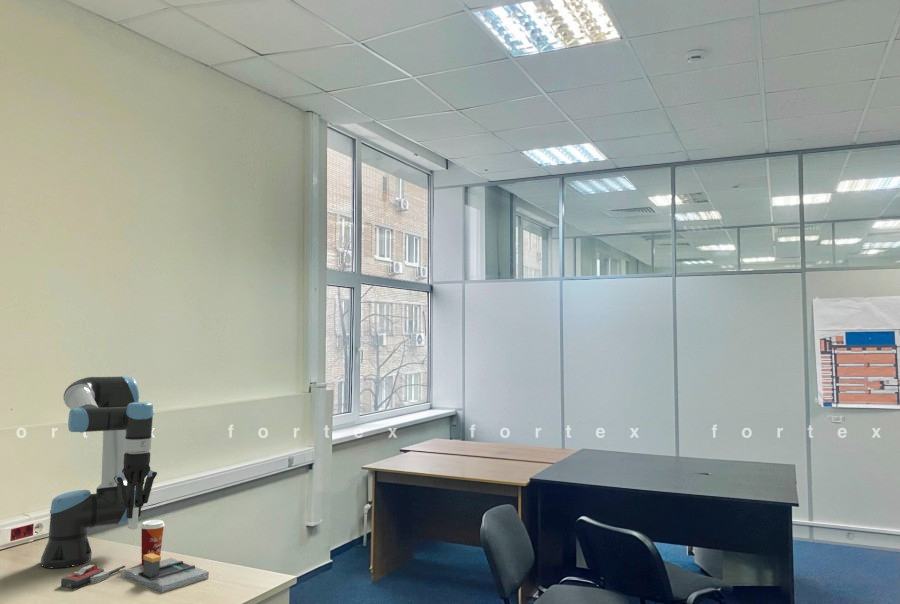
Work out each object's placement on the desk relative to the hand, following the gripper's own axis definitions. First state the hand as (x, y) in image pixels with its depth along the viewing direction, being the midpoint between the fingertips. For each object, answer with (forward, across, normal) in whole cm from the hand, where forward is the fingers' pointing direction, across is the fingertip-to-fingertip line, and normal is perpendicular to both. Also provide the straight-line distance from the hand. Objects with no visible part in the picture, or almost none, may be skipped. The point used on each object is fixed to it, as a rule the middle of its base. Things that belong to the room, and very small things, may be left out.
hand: (132, 528), depth 195 cm
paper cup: (+19, +16, +17) cm, 30 cm away
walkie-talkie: (+19, -3, +17) cm, 26 cm away
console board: (+18, +12, 0) cm, 22 cm away
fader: (+16, +7, 0) cm, 18 cm away
